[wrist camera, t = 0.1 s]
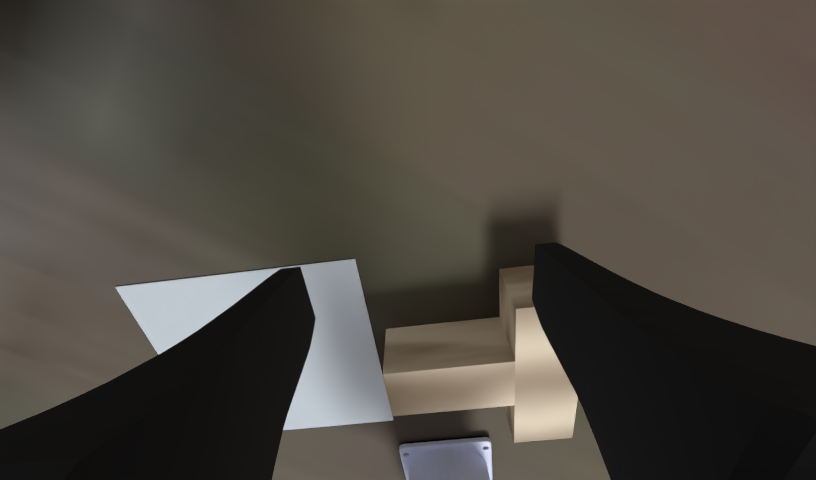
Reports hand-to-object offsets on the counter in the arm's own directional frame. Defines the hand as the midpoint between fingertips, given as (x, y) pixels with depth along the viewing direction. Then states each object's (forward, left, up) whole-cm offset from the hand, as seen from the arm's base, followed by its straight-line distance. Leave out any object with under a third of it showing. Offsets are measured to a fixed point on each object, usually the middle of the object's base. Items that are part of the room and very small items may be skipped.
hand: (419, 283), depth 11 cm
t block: (-13, -3, -10) cm, 16 cm away
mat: (-13, +12, -10) cm, 20 cm away
